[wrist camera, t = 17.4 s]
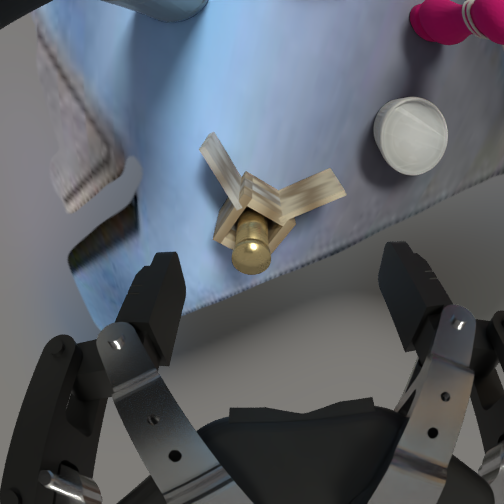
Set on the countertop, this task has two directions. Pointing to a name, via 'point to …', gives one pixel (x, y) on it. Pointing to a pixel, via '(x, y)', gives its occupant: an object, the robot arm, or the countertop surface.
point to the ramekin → (411, 135)
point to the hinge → (264, 196)
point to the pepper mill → (458, 20)
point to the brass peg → (251, 243)
